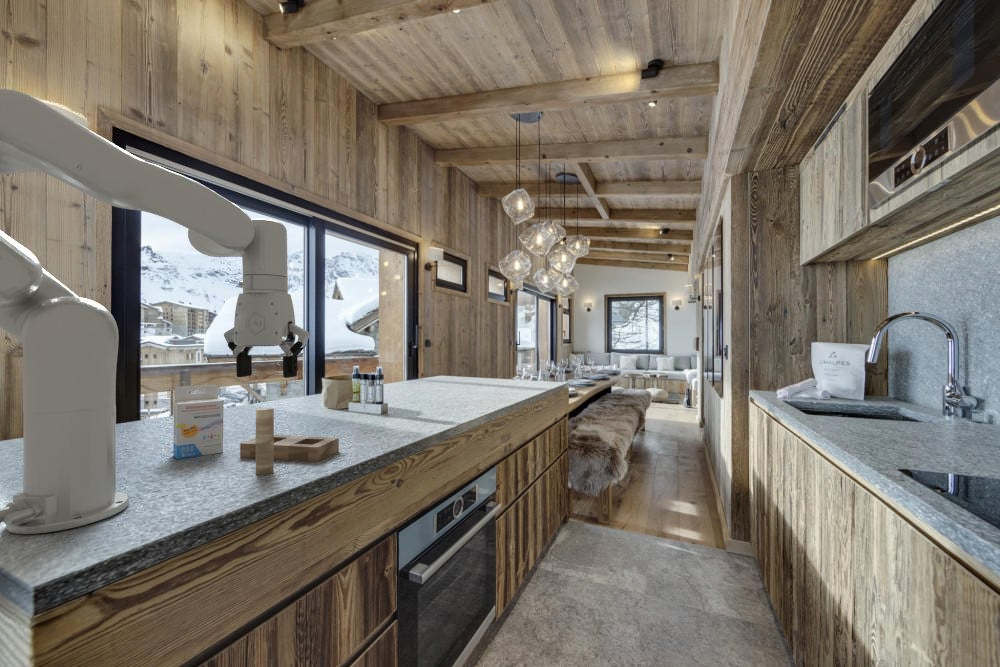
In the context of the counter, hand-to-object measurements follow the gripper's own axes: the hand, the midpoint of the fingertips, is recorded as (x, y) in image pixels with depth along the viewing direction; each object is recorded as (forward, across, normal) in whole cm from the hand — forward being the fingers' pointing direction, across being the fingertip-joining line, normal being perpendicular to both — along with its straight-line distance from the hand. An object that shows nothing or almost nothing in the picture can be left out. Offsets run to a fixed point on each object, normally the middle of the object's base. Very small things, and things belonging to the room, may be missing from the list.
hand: (267, 376), depth 83 cm
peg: (+18, 0, -1) cm, 18 cm away
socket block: (+18, -3, +11) cm, 22 cm away
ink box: (+18, -23, +8) cm, 31 cm away
